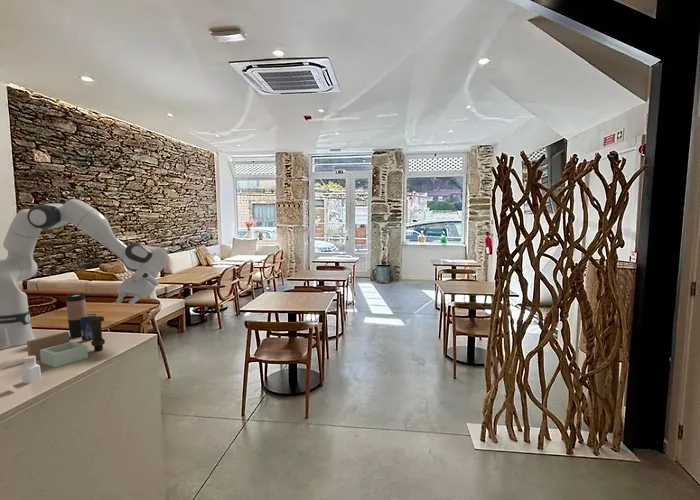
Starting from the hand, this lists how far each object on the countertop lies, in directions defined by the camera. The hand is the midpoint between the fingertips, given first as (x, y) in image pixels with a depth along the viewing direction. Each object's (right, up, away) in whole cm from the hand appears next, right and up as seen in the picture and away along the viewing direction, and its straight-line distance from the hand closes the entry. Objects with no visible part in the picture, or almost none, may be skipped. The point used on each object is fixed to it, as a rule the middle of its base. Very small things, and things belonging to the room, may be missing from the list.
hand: (124, 303), depth 179 cm
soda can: (-20, -19, +8) cm, 29 cm away
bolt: (-6, -20, -9) cm, 22 cm away
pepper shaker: (-10, -23, -39) cm, 47 cm away
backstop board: (-15, -21, -18) cm, 31 cm away
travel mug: (-31, -18, +17) cm, 40 cm away
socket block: (-12, -20, -20) cm, 31 cm away
